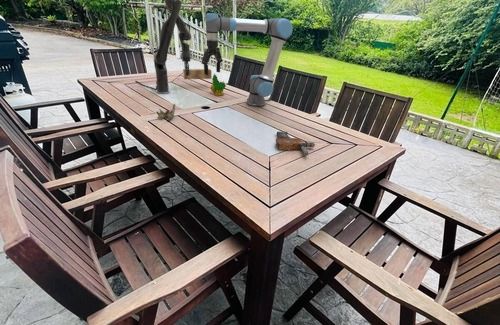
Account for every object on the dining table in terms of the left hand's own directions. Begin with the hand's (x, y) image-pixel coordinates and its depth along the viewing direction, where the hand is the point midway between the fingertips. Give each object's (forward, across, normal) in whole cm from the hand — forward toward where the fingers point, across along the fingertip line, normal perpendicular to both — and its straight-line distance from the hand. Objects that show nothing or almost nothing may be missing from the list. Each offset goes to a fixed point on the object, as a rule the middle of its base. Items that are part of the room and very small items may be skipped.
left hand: (187, 74), depth 249 cm
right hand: (-15, +75, +7) cm, 77 cm away
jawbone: (+11, +86, -26) cm, 91 cm away
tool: (+12, +146, +40) cm, 152 cm away
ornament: (+12, +32, +24) cm, 41 cm away
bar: (+4, 0, +10) cm, 11 cm away
